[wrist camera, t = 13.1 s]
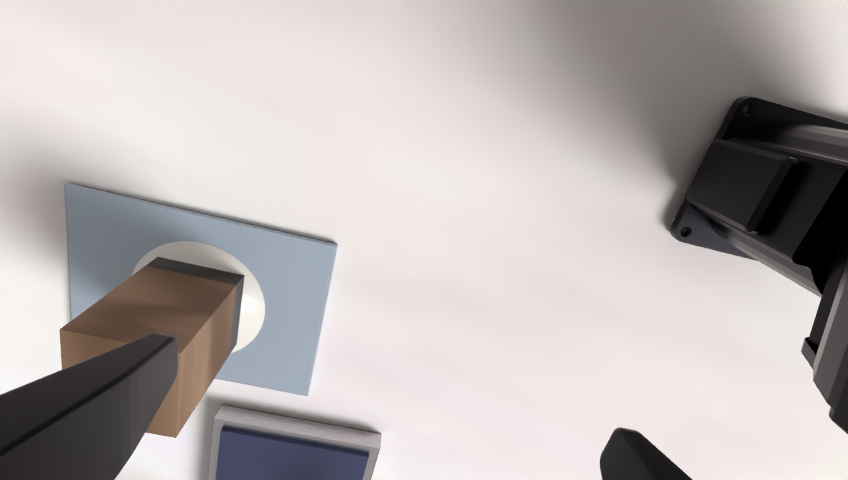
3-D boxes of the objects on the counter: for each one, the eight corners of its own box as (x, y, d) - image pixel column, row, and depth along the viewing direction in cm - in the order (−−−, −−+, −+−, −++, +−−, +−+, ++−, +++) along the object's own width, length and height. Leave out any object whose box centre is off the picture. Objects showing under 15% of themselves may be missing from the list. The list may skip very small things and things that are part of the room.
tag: (337, 244, 21) (336, 247, 20) (308, 392, 24) (307, 396, 24) (69, 183, 19) (63, 185, 19) (77, 347, 23) (72, 351, 22)
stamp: (244, 275, 21) (180, 353, 15) (236, 343, 22) (176, 437, 17) (157, 256, 20) (59, 329, 15) (155, 327, 22) (65, 418, 16)
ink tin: (381, 434, 25) (379, 452, 24) (357, 516, 28) (355, 535, 26) (221, 404, 24) (211, 422, 23) (212, 492, 27) (202, 511, 26)
